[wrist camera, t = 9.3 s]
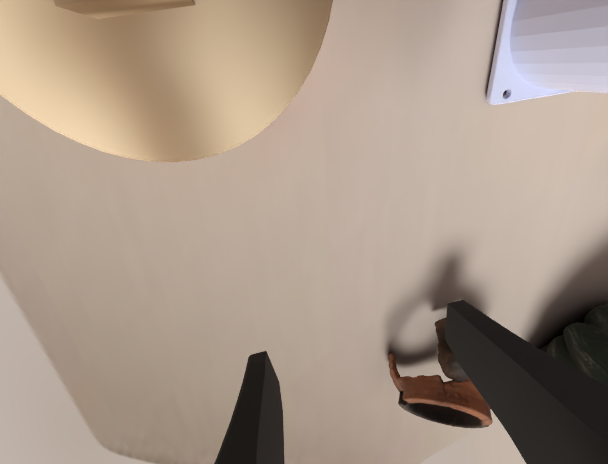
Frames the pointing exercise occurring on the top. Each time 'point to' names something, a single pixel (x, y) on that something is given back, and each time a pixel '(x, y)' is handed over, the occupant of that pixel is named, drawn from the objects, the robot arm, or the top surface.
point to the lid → (158, 69)
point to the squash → (584, 345)
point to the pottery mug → (442, 391)
